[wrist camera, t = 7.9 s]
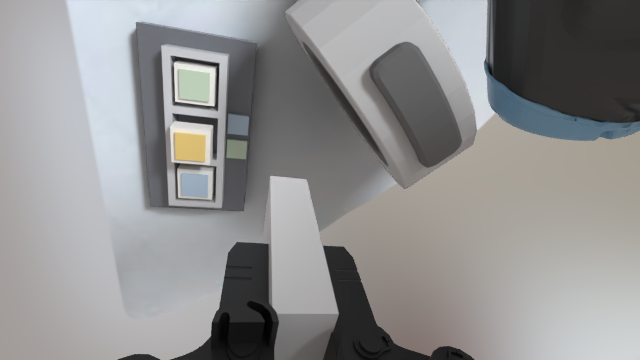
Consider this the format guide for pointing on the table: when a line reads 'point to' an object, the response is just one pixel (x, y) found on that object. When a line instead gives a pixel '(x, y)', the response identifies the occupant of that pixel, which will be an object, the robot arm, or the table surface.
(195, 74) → the key sage
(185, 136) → the key ochre
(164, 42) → the keypad
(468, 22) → the table surface
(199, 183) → the key blue
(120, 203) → the table surface
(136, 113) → the table surface
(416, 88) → the alarm clock
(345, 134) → the table surface
